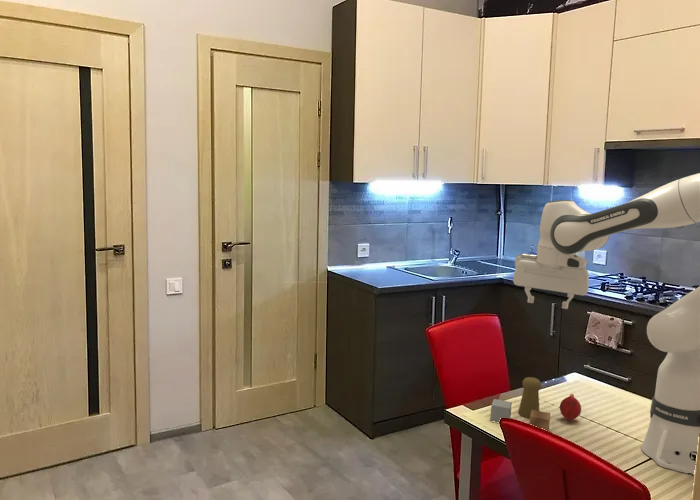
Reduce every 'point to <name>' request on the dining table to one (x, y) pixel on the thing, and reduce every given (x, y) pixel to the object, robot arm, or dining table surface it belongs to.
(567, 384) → the dining table surface
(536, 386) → the cork
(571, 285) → the robot arm
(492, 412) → the slate block
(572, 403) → the onion
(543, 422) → the walnut block
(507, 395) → the dining table surface
